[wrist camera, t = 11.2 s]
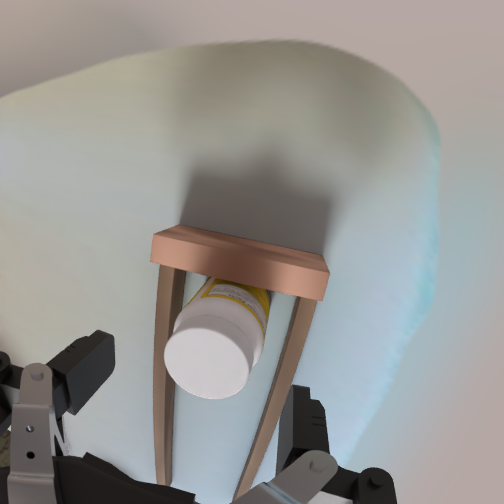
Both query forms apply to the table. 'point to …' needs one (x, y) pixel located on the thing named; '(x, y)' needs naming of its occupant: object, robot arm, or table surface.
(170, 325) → the guide track
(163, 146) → the table surface
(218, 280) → the supplement bottle
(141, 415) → the table surface
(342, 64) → the table surface
